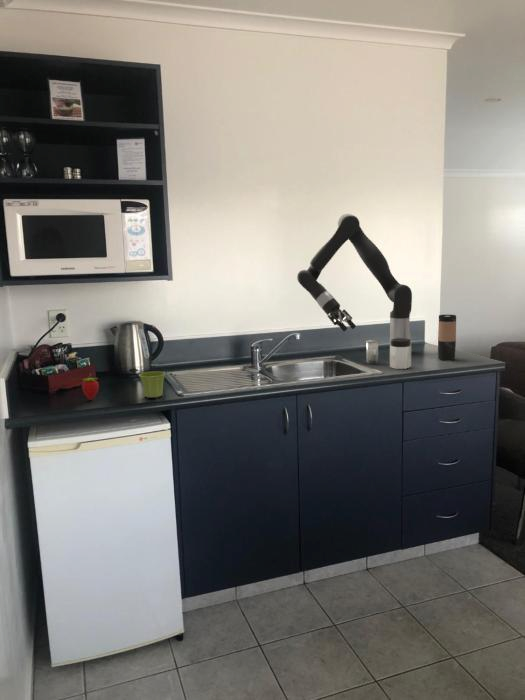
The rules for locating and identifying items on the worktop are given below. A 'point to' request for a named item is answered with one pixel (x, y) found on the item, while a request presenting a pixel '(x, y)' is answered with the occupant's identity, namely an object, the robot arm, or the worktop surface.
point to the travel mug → (446, 337)
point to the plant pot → (152, 383)
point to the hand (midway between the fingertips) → (350, 328)
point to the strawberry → (90, 387)
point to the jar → (400, 353)
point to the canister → (372, 351)
